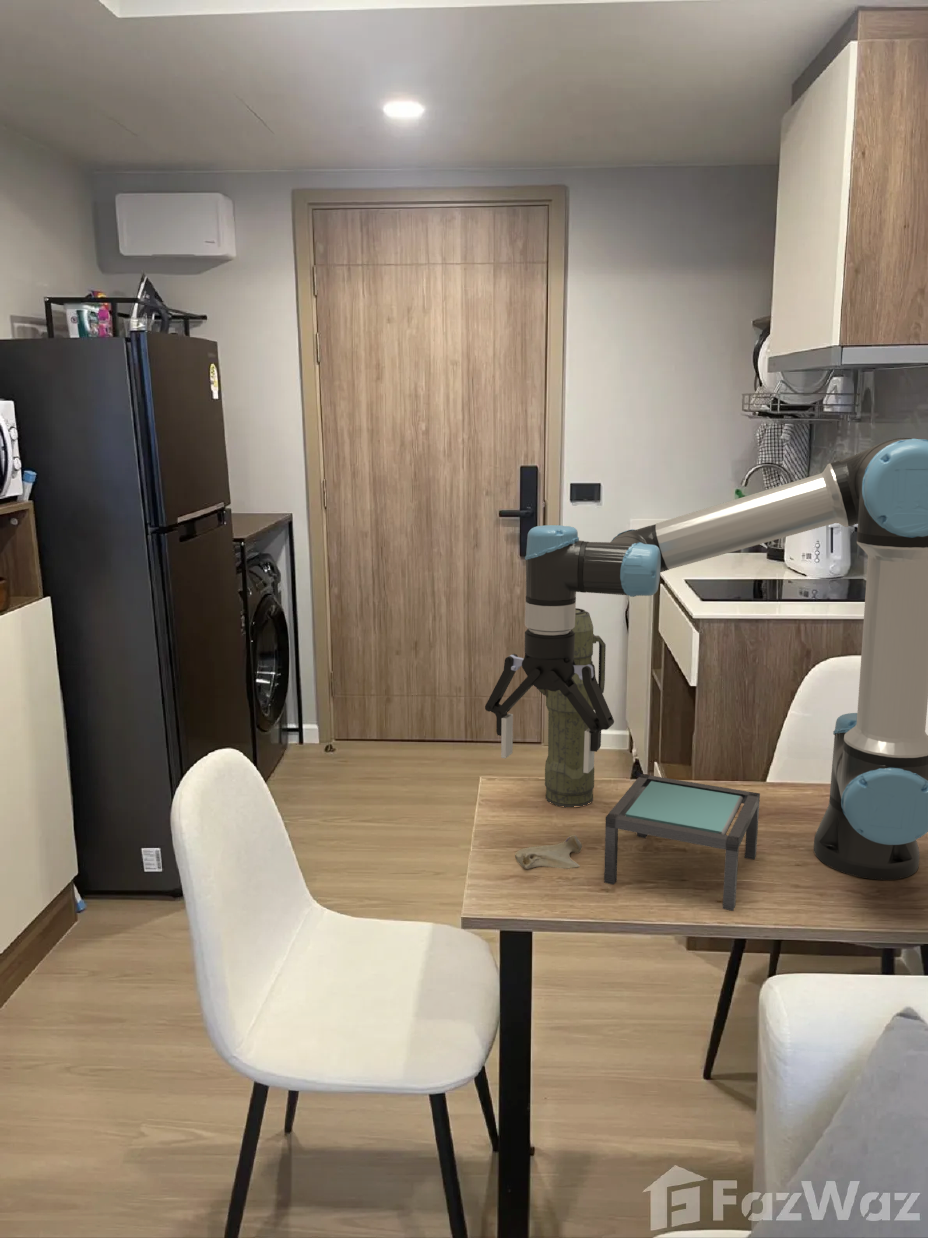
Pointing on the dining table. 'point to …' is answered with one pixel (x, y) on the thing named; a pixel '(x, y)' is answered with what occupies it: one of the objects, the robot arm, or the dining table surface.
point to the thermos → (571, 727)
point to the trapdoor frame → (686, 831)
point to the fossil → (550, 855)
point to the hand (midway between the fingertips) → (546, 762)
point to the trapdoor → (686, 807)
